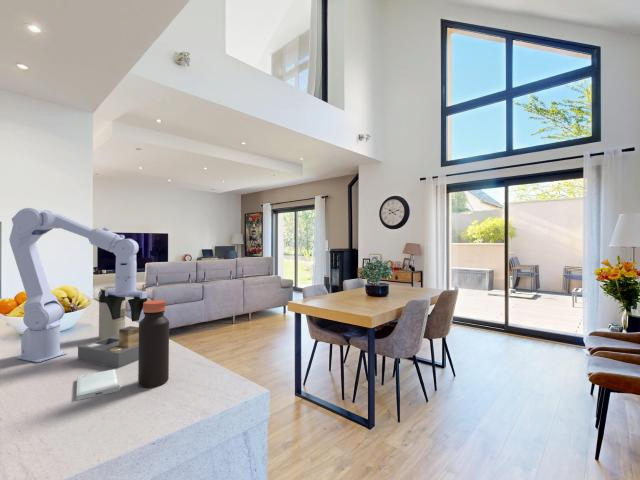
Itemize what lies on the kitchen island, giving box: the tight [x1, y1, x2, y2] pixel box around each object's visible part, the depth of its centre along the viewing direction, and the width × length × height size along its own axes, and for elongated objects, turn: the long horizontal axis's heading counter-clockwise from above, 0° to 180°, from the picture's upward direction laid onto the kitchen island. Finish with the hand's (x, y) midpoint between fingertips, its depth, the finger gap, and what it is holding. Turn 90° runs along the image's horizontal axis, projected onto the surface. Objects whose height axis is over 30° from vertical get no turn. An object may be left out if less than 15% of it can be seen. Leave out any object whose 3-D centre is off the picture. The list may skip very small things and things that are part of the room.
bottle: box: [137, 299, 170, 389], centre depth 81 cm, size 7×7×20 cm
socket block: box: [77, 334, 139, 369], centre depth 98 cm, size 16×13×4 cm
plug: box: [119, 326, 139, 349], centre depth 97 cm, size 4×4×8 cm
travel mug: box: [98, 285, 126, 340], centre depth 117 cm, size 8×8×18 cm
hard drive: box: [75, 369, 120, 402], centre depth 79 cm, size 2×8×12 cm
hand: (125, 319), depth 103 cm, fingers open, 7 cm apart
